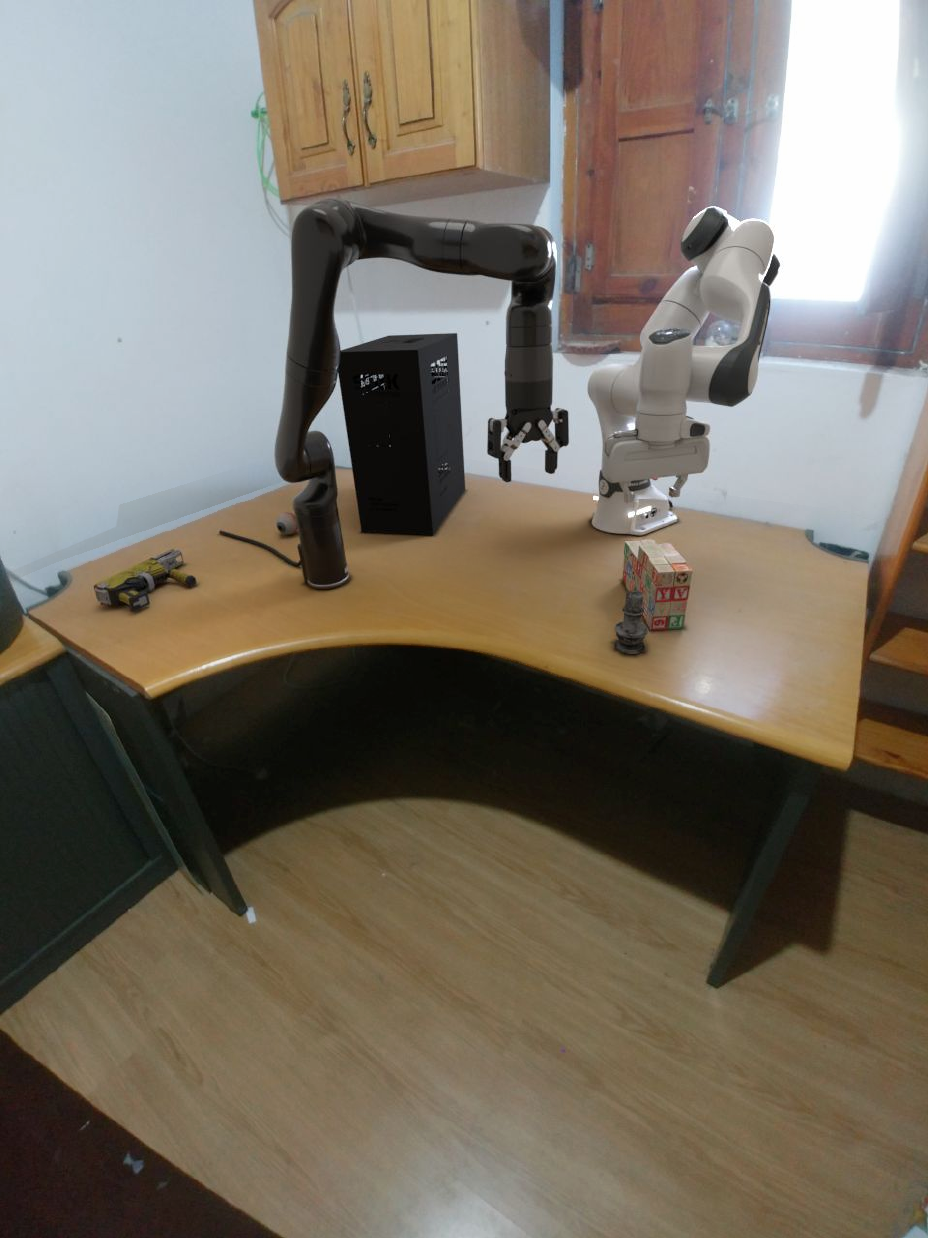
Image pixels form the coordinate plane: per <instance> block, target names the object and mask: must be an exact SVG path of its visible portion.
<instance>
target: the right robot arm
mask: <svg viewBox="0 0 928 1238" xmlns="http://www.w3.org/2000/svg"><path fill="white" fill-rule="evenodd" d="M775 236H776V235H775V232H774V229H773V228H772V227H771V226H770V225H769V223H767V222H766V221H764V220H762V219H758V218H749V219H745V220H743V221H741V222H740V221H739V220H737V219H736V218H734V217H733V216H731V215H729V214H728V213H727V210H725V209H723V208H720V207H718V206H713V205H712V206H707V207H705V208H704V209H703V210H702V211H700V212H699V213H697V214H696V215H695V216H694V217H693V218H692V219H691V220H690V221H689V223H688V225H687V226H686V228H685V230H684V232H683V236H682V238H681V240H680V252H681V254H682V255H683V256H684V258H685V259H686V260H687V261H688V262H691V263H692V265H693V267H690V268H688V269H687V270H685V271H684V272H683V273H682V275H681V276H679V277H678V278H677V280H676V281H675V282H674V283H673V284H672V286H671V287H670V289H668V291H667V292H666V294H665V295H664V296H663V298H662V299H661V300H660V302H659V304H658V305H657V307H656V308H655V309H654V311H653V313H652V314H651V316H650V318H649V319H648V320H647V322H646V324H645V325H644V327H643V328H642V330H641V331H640V335H639V342H640V346H641V352H640V355H639V357H638V359H637V361H636V362H635V363H634V364H625V363H620V362H615V363H614V362H613V363H607V364H604V365H601V366H597V368H595V369H594V371H593V372H591V374H590V376H589V378H588V380H587V381H588V382H587V395H588V398H589V399H590V401H591V402H592V404H593V406H594V408H595V411H596V414H597V417H598V418H597V419H598V421H599V427H600V432H601V440H602V447H601V448H602V449H601V450H602V451H601V468H600V470H599V474H598V492H599V493H598V496H596V495H593V499H592V500H594V501H597V502H596V507H595V511H594V514H593V517H592V520H591V525H592V526H593V527H594V528H595V529H597V530H599V531H601V532H605V533H611V534H623V535H625V534H626V535H632V536H633V535H634V536H645V535H646V534H650V533H652V532H654V531H657V530H660V529H662V528H665V527H668V526H670V525H672V524H675V523H677V522H678V516H677V515H676V514H675V513H674V512H672V511H670V509H672V508H673V507H674V505H673V502H672V500H670V499H669V498H668V497H667V496H666V495H665V494H664V493H663V492H661V491H660V490H659V489H658V488H656V487H655V486H654V485H652V483H651V480H653V481H658V479H659V478H669V477H675V478H676V480H675V482H674V484H673V486H668V496H669V497H670V498H672V499H673V498H679V497H680V496H681V489H682V488H683V487H684V485H685V484H686V482H688V480H689V479H688V478H689V475H695V474H702V473H704V472H705V470H706V469H707V468H708V466H709V461H710V460H709V459H710V452H711V451H710V450H711V449H710V447H711V444H710V440H709V437H708V435H709V434H710V432H711V425H710V424H708V423H706V422H704V421H702V420H700V419H697V418H694V417H692V416H689V415H687V410H688V406H687V402H692V403H693V402H694V403H706V404H713V405H717V406H723V407H729V408H733V407H735V406H737V405H739V404H740V403H743V401H745V400H746V399H747V398H749V397H750V396H751V395H752V393H753V391H754V389H755V387H756V384H757V381H758V376H759V363H760V362H759V361H760V357H761V352H762V348H763V344H764V340H765V336H766V331H767V327H768V322H769V318H770V317H769V316H770V311H771V303H772V302H771V299H772V298H771V297H772V295H771V288H770V287H772V285H773V283H774V282H775V280H776V278H777V276H778V274H779V272H780V270H781V263H782V262H781V260H780V258H779V256H778V254H777V253H776V252H775V245H776V237H775ZM709 314H712V315H713V316H715V317H716V318H718V319H721V320H724V321H725V320H726V321H728V322H732V323H735V324H737V325H740V328H739V332H738V336H737V339H736V340H737V341H736V342H735V343H732V344H728V345H697V344H693V340H694V339H695V337H696V335H697V334H698V333H699V331H700V329H701V328H702V327H703V325H704V323H705V321H706V320H707V319H708V316H709Z"/></svg>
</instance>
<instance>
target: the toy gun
mask: <svg viewBox="0 0 928 1238" xmlns="http://www.w3.org/2000/svg"><path fill="white" fill-rule="evenodd" d="M179 557H181V560H177V558H179ZM183 564H184V558H183V552H182V551H181V550H179V549H174V548H171V549H169V550H167V551H164V552H163V553H161V554H159V555H156V556H155V557H150V558H148V559H146V560H144V561H142V562H139V563H138V564H135V565H133V566H131V567H129V568H127V569H125V570H122V571H120V572H118V573H116V574H113V575H112V576H110V577H108V578H106V579H104V580H101V581H99V582H97V583H95V584H93V590H94V594H95V598H96V600H97V603H99V604H100V605H101V606H105V607H107V606H117V605H121V604H127V605H128V606H129V607H130V611H131V612H136V611H138V610H141V609H143V608H145V607H147V606H148V607H149V606H150V599H149V595H148V593H149V592H151V591H154V590H155V586H156V585H159V584H161V583H164V582H165V581H168V579H171V580H174V581H177V582H178V583H182V584H183V585H184V584H185V585H186V586H187V587H193V586H195V585H196V584H197V578H196V576H194V575H192V574H188V573H186V572H184V571H180V570H179V569H176V568H177V567H180V565H183Z"/></svg>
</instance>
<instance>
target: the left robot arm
mask: <svg viewBox="0 0 928 1238" xmlns="http://www.w3.org/2000/svg"><path fill="white" fill-rule="evenodd" d="M290 235H291V236H290V260H291V265H290V266H291V301H290V302H291V303H290V311H289V325H288V337H287V343H286V344H287V346H286V353H285V355H286V356H285V367H284V384H283V395H282V403H281V412H280V417H279V422H278V426H277V432H276V435H275V442H274V451H273V453H274V463H275V469H276V470H277V473H278V475H279V476H280V478H281V479H282V480H283V481H285V482H286V483H289V484H297V483H303V482H306V481H308V482H307V483H306V485H305V486H304V487H303V488H302V489H301V491H299V492H298V493H297V494H295V496H294V497H293V498H292V508H293V512H294V513H293V514H294V515H295V518H296V523H297V528H298V529H297V534H298V537H299V538H298V539H299V543H298V544H297V552H298V556H299V560H298V562H295V561H294V560H292V559H290V558H289V557H288V556H286V555H284V554H283V553H281V552H279V551H278V550H277V549H275V548H274V547H271V546H269V545H268V544H266V543H264V542H261V541H257V540H255V539H252V538H249V537H245V536H241V535H237V534H235V533H231V532H227V531H224V530H222V529H221V530H219V531H218V533H219V534H221V535H225V536H227V537H231V538H234V539H238V540H241V541H244V542H248V543H251V544H254V545H257V546H260V547H263V548H265V549H266V550H268V551H270V552H272V553H274V554H275V555H276V556H278V557H279V558H280V559H283V560H284V561H285V562H287V563H288V564H290V565H292V566H294V567H300V566H301V572H302V576H303V580H304V584H307V585H308V586H309V587H310V588H312V589H316V590H330V589H336V588H339V587H341V586H343V585H345V584H347V583H348V581H349V580H350V572H349V570H350V566H349V564H348V563H347V555H346V551H345V544H344V538H343V533H342V527H341V519H340V515H339V508H338V495H339V493H338V484H337V473H336V464H335V463H336V462H335V457H334V452H333V448H332V445H331V443H330V441H329V439H328V437H327V436H326V435H325V433H323V432H322V431H320V430H310V427H311V426H312V425H313V422H314V421H315V419H316V418H317V416H318V415H319V414H320V412H321V411H322V409H323V408H324V407H325V406H326V404H327V402H329V399H330V398H331V396H332V394H333V393H334V392H335V389H336V385H337V381H338V377H339V375H338V370H339V363H340V354H341V350H342V349H341V342H340V338H339V333H338V330H337V326H336V321H335V307H336V306H335V305H336V300H337V299H336V298H337V293H338V288H339V283H340V279H341V276H342V273H343V271H344V270H345V269H346V268H347V267H349V266H351V265H353V264H354V263H355V262H356V261H359V260H360V261H361V260H369V259H391V260H397V261H401V262H405V263H406V264H410V265H412V266H414V267H418V268H419V269H423V270H425V271H428V272H429V271H430V272H433V273H439V274H447V275H455V276H467V277H479V276H480V277H481V276H482V277H487V278H490V279H491V278H492V279H497V280H502V281H507V282H511V283H510V285H511V286H510V303H509V304H508V307H507V309H506V313H505V314H506V315H505V345H506V346H505V356H504V394H505V396H504V400H505V402H504V403H505V404H504V406H505V410H506V414H505V417H504V418H494V417H489V418H488V420H487V442H486V443H487V445H486V447H487V448H486V449H487V450H486V453H487V455H488V456H491V457H492V458H495V459H497V460H498V477H499V478H500V479H501V480H502V481H503V482H505V483H511V482H512V459H511V458H512V456H513V454H514V452H515V451H516V450H518V449H519V447H520V446H521V444H527V443H529V442H538V441H539V442H540V441H541V442H542V444H543V445H544V446H545V448H546V449H545V451H544V472H545V473H547V474H549V475H554V474H555V473H556V471H557V469H558V461H559V460H558V459H559V458H558V455H559V451H560V449H562V448H563V447H567V446H568V445H569V443H570V435H569V434H570V429H569V428H570V424H569V423H570V422H569V410H567V409H564V408H560V407H556V408H555V409H554V410H552V404H553V392H554V391H553V388H554V387H553V384H554V383H553V382H554V381H553V380H554V355H553V344H552V343H553V300H554V294H555V285H556V277H557V268H558V267H557V264H558V256H557V255H558V251H557V245H556V242H555V239H554V237H553V235H552V234H551V232H550V231H549V230H547V229H546V228H545V227H542V226H539V225H535V224H530V223H512V222H511V223H507V222H506V223H505V222H503V223H502V222H501V223H499V222H498V223H497V222H494V223H493V222H492V223H486V222H483V221H478V220H474V219H462V218H453V217H452V218H451V217H450V218H449V217H438V216H437V217H436V216H423V215H422V216H420V215H411V214H403V213H396V212H391V211H386V210H382V209H377V208H373V207H370V206H367V205H364V204H360V203H358V202H357V203H356V202H355V201H350V200H346V199H342V198H338V197H326V198H324V199H321V200H319V201H316V202H314V203H311V204H309V205H307V206H305V207H304V208H303V209H301V210H300V211H299V212H298V213H297V215H296V217H295V218H294V220H293V223H292V227H291V234H290ZM552 422H553V423H554V434H553V433H552V431H551V430H550V427H549V426H550V425H551V423H552ZM505 427H506V429H507V432H506V434H505V436H504V437H503V439H502V433H503V432H504V429H505Z"/></svg>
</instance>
